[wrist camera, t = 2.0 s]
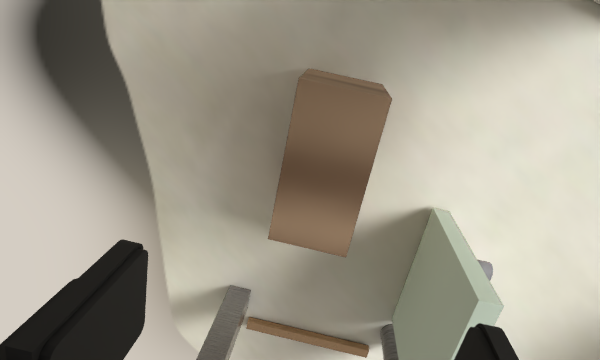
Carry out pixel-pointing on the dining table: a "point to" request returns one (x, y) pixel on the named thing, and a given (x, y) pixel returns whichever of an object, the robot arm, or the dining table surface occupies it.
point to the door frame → (275, 332)
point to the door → (443, 294)
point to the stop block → (328, 160)
